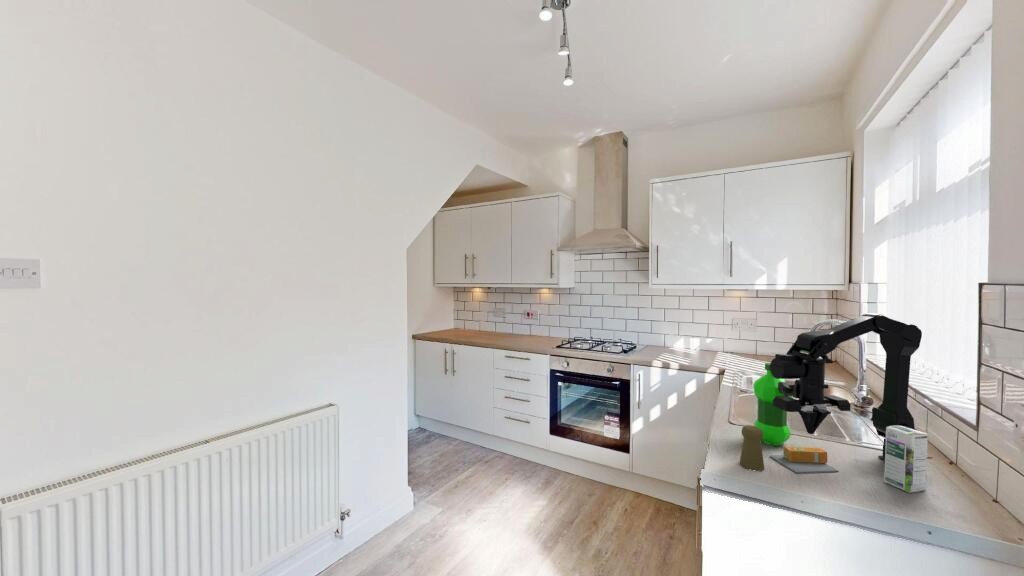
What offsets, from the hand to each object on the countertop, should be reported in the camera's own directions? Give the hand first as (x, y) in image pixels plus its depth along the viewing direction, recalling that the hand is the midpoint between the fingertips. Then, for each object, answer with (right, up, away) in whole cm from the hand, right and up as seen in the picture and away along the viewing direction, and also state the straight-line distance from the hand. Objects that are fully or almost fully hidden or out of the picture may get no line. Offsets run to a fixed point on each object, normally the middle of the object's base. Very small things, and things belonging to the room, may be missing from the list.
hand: (810, 433), depth 113 cm
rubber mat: (-2, -9, 0) cm, 9 cm away
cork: (-17, -9, -1) cm, 19 cm away
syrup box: (+15, -9, -12) cm, 21 cm away
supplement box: (+5, -6, +1) cm, 8 cm away
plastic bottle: (-1, -8, +15) cm, 17 cm away
